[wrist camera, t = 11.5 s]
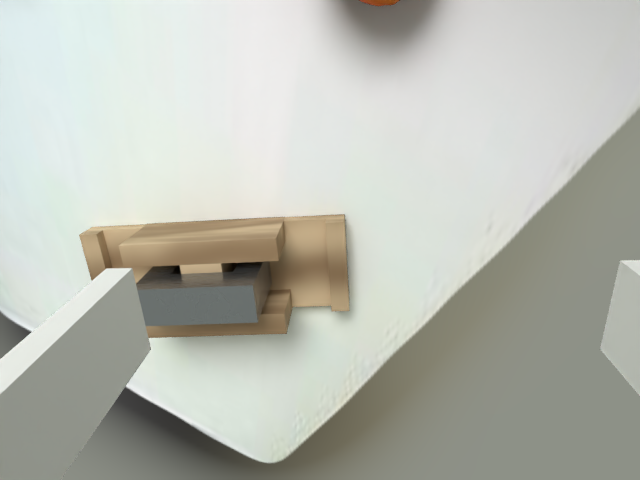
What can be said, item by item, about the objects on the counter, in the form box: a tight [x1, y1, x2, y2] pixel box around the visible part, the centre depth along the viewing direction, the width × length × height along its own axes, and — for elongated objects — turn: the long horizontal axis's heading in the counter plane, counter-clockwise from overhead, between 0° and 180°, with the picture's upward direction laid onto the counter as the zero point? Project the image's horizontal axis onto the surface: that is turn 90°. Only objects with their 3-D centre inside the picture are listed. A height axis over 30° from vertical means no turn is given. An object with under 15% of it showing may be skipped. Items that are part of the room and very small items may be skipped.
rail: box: [79, 214, 349, 338], centre depth 37 cm, size 8×22×5 cm, turn 94°
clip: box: [136, 261, 272, 326], centre depth 35 cm, size 3×9×6 cm, turn 94°
